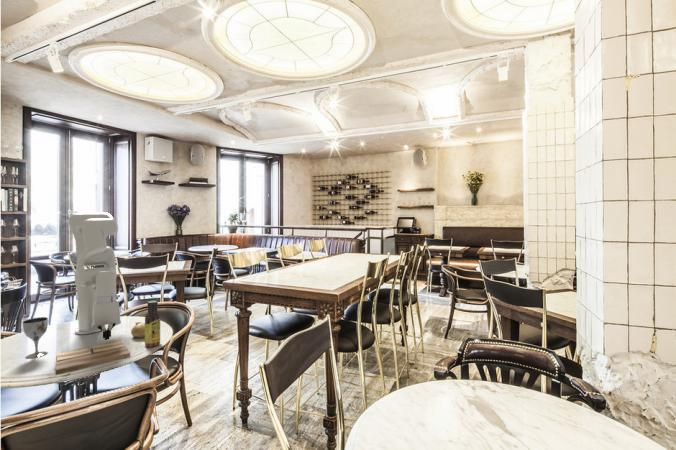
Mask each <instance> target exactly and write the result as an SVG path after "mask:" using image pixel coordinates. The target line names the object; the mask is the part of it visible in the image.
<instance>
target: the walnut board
mask: <svg viewBox="0 0 676 450" xmlns="http://www.w3.org/2000/svg"><path fill="white" fill-rule="evenodd" d="M127 357H128V358H129V357H131V352H130V350H129V348H128V347H127V346H125V347H122V348H118V349H113V350H109V351H104V352H100V353H95V354H93V353H91V355H86V356H82V357H77V358H73V359H68V360H64V361H59V362H57V361H55V362H54V363H55V374H56V375H58V374H61V373H65V372H70V371H74V370H78V369H82V368H87V367H90V366H91V367H92V366H95V365H98V364H99V365H100V364H104V363H106V362H111V361H115V360H121V359H124V358H127Z"/></svg>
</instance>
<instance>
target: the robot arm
mask: <svg viewBox="0 0 676 450" xmlns="http://www.w3.org/2000/svg"><path fill="white" fill-rule="evenodd" d="M68 225H69V229H70V231H71V233H72V236H73V237H74V240H75V241H74V242H75V253H76V264H75V272H76V273H75V274H74V282H75V283H74V284H75V287H76V294H77V295H76V296H77V316H78V317H77V318H78V319H77V320H78V328H76V329H75V330H74V334H76V335H90V334H94V333H95V334H96V333H98V332H102V339H104V340H105V341H107V340H108V341H109V340H110V338H111V337H112V330H113V329H114V327H115V326H118V325H120V324H122V320H121V309H120V302H119V298H121V294H117V275H118V274H117V266H116V265H117V263H116V254H115V251H114V249H113V247H111V246H107V245H108V244H107V241H106V236H115V235H117V234H118V230H119V225H118V223H117V221H116V219H115V218H114V217H113V215H111V214H110V212H109V213H108V212H76V213H73V214H71V215H70V216H69V217H68ZM101 265H102V267H101ZM91 266H100V267H92V268H85V267H91ZM103 266H104V267H103ZM106 325H107V326H108V327H107V328H106Z"/></svg>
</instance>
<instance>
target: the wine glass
mask: <svg viewBox="0 0 676 450" xmlns="http://www.w3.org/2000/svg"><path fill="white" fill-rule="evenodd" d="M48 324H49V319H48V317H45V316H42V317H40V316H39V317H33V318H28V319H26V320H23V321H22V329H23V333H24V335H25V336H26V337H27V338H29V339H30V340H31V341H32V342H33V343H34V348H35V349H34V351H35V352H33V353H30V354H27V355H26V356H25V359H29V360H30V359H31V360H32V359H38V358H41V357H44V356H46V355H48V353H49V352H48V351H39V350H38V349H39V348H38V347H39V341H40V339H41V338H42V337H44V335H45V334H46V333H47V330H48Z"/></svg>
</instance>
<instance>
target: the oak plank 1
mask: <svg viewBox="0 0 676 450" xmlns="http://www.w3.org/2000/svg"><path fill="white" fill-rule="evenodd" d="M91 354H92V352H91V349H90V347H89V346H88V347H84V348H79V349H74V350H70V351H64V352H60V353H56V362H59V361H64V360H68V359H73V358H77V357H82V356H86V355H91Z"/></svg>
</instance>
